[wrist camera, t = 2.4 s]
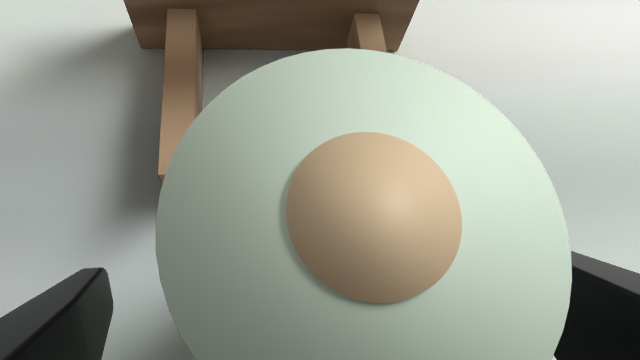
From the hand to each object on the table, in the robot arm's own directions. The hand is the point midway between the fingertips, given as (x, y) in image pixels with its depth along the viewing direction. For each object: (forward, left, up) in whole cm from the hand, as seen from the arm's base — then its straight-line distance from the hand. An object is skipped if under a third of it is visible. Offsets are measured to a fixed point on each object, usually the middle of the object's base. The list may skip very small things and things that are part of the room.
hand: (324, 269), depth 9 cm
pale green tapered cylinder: (0, 0, -8) cm, 8 cm away
